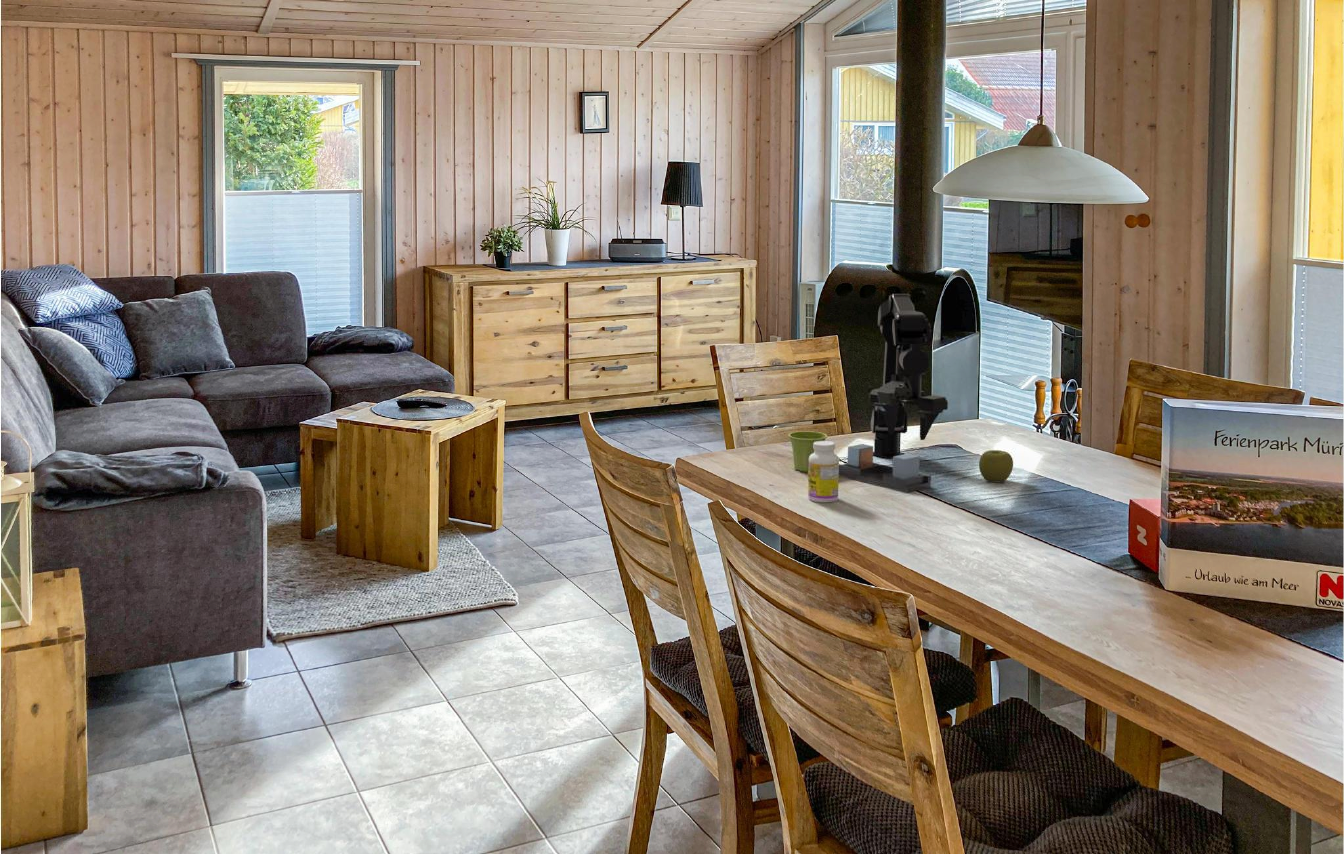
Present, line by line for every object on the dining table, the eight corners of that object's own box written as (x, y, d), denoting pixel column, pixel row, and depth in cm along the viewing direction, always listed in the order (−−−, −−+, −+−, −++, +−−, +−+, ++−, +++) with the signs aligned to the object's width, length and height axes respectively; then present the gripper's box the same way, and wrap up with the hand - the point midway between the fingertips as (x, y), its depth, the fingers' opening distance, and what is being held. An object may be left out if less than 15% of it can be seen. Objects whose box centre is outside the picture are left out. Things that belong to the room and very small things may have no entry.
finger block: (905, 478, 279) (906, 453, 278) (918, 481, 276) (919, 456, 275) (891, 481, 276) (891, 456, 275) (904, 484, 273) (905, 459, 272)
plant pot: (826, 465, 299) (826, 431, 297) (827, 474, 289) (827, 439, 288) (788, 464, 299) (788, 430, 298) (788, 473, 290) (788, 438, 289)
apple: (994, 486, 276) (996, 456, 275) (970, 479, 283) (972, 450, 282) (1019, 483, 280) (1020, 453, 278) (995, 476, 286) (996, 446, 285)
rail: (859, 470, 293) (860, 441, 292) (930, 487, 276) (931, 456, 275) (836, 475, 288) (837, 445, 287) (907, 492, 271) (908, 461, 270)
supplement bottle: (805, 496, 269) (806, 440, 266) (834, 495, 269) (835, 439, 267) (811, 503, 262) (812, 446, 260) (841, 502, 263) (842, 445, 260)
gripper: (853, 368, 274) (852, 435, 276) (917, 377, 259) (915, 447, 262) (886, 363, 280) (884, 429, 283) (950, 372, 266) (947, 441, 269)
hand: (906, 436), depth 274 cm, fingers open, 9 cm apart
